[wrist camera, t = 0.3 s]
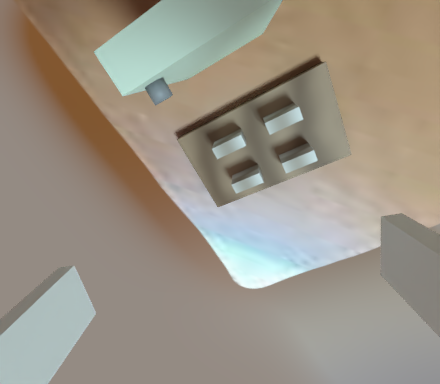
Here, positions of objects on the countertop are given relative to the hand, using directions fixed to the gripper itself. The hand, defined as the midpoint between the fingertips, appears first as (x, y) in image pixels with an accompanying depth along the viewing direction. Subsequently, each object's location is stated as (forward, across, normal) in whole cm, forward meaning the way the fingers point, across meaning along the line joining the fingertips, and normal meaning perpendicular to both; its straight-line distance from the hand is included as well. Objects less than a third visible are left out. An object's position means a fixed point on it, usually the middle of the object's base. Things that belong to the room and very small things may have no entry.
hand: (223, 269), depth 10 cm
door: (+23, +2, +14) cm, 27 cm away
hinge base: (+24, +5, +2) cm, 25 cm away
